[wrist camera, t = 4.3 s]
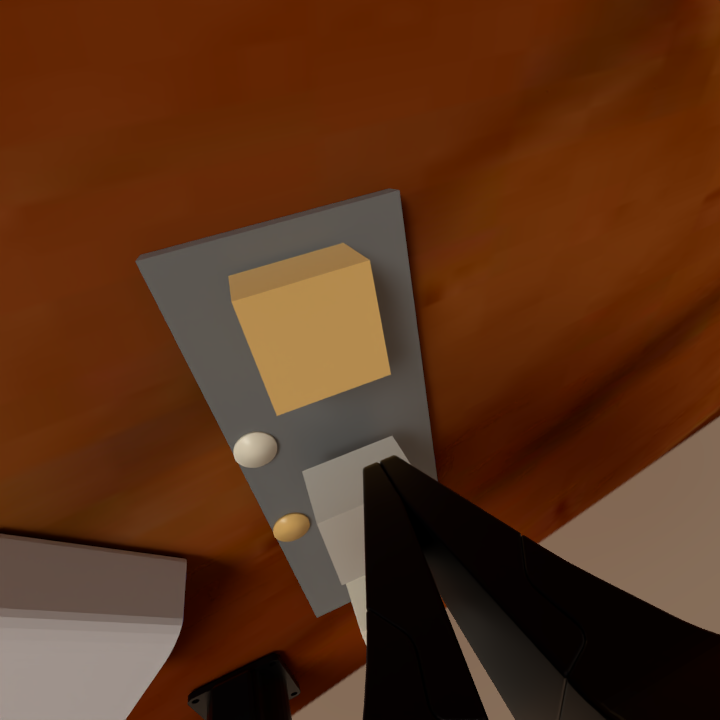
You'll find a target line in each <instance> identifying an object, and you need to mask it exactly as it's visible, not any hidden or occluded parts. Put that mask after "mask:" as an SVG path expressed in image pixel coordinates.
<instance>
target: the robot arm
mask: <svg viewBox="0 0 720 720" xmlns="http://www.w3.org/2000/svg"><path fill="white" fill-rule="evenodd" d="M363 504H364V543H365V581H366V609H367V612H366V629H367V656H366V682H365V698H364V711H363V720H488V717H487V714H486V712H485V709H484V707H483V704H482V702H481V699H480V697H479V694H478V691H477V689H476V686H475V684H474V681H473V679H472V677H471V674H470V671H469V668H468V666H467V663H466V661H465V658H464V656H463V653H462V650H461V648H460V645H459V643H458V640H457V638H456V635H455V633H454V630H453V628H452V625H451V622H450V620H449V617H448V615H447V612H446V610H445V607H444V604H443V602H442V599H443V600H444V602H445V604H446V605H447V607H448V609H449V610H450V612H451V614H452V615H453V617H454V619H455V620H456V622H457V624H458V625H459V627H460V629H461V630H462V632H463V634H464V635H465V637H466V638H467V640H468V642H469V643H470V645H471V647H472V648H473V650H474V652H475V653H476V655H477V657H478V658H479V660H480V662H481V664H482V665H483V667H484V669H485V670H486V672H487V674H488V675H489V677H490V679H491V680H492V682H493V683H494V685H495V687H496V688H497V690H498V692H499V693H500V695H501V697H502V698H503V700H504V702H505V703H506V705H507V707H508V708H509V710H510V711H511V713H512V715H513V717H514V718H515V720H720V634H716V633H714V632H711V631H708V630H705V629H702V628H699V627H697V626H695V625H692V624H690V623H688V622H685V621H683V620H681V619H679V618H677V617H675V616H673V615H671V614H669V613H667V612H665V611H663V610H661V609H659V608H657V607H655V606H653V605H651V604H649V603H647V602H645V601H643V600H641V599H639V598H637V597H635V596H633V595H631V594H629V593H627V592H625V591H623V590H621V589H619V588H617V587H615V586H613V585H611V584H609V583H607V582H605V581H603V580H601V579H599V578H598V577H595V576H594V575H592V574H590V573H588V572H586V571H584V570H582V569H580V568H579V567H577V566H574V565H573V564H571V563H569V562H567V561H566V560H564V559H562V558H560V557H559V556H557V555H555V554H554V553H552V552H550V551H549V550H547V549H545V548H543V547H542V546H540V545H539V544H537V543H535V542H534V541H532V540H531V539H529V538H528V537H526V536H524V535H522V536H521V534H520V533H519V532H518V531H516V530H515V529H513V528H511V527H510V526H508V525H507V524H505V523H503V522H502V521H500V520H499V519H497V518H495V517H494V516H492V515H491V514H489V513H487V512H486V511H484V510H483V509H481V508H479V507H478V506H476V505H475V504H473V503H471V502H470V501H468V500H467V499H465V498H463V497H462V496H460V495H459V494H457V493H455V492H454V491H452V490H451V489H449V488H447V487H446V486H444V485H443V484H441V483H439V482H438V481H436V480H435V479H433V478H431V477H430V476H428V475H427V474H425V473H423V472H422V471H420V470H419V469H417V468H415V467H414V466H412V465H411V464H409V463H407V462H406V461H404V460H403V459H401V458H399V457H398V456H396V455H392V456H390V457H388V458H385V459H383V460H381V461H380V463H378V462H375V463H373V464H371V465H368V466H366V467H364V468H363ZM440 595H441V597H442V599H441V597H440ZM299 694H300V687H299V684H298V683H297V681H296V680H295V678H294V677H293V675H292V674H291V672H290V671H289V669H288V668H287V667H286V665H285V664H284V662H283V661H282V659H281V658H280V656H279V655H278V654H271V655H269V656H267V657H265V658H263V659H260V660H258V661H256V662H254V663H252V664H250V665H248V666H246V667H244V668H242V669H240V670H238V671H235V672H233V673H231V674H229V675H227V676H225V677H223V678H221V679H219V680H217V681H215V682H212V683H210V684H208V685H206V686H204V687H202V688H200V689H198V690H196V691H194V692H192V693H190V694H189V695H188V705H189V706H190V707H191V708H192V709H193V710H194V711H196V712H197V713H198V714H199V715H200V716H201V717H202V718H203V719H205V720H292V718H291V711H290V704H289V700H290V699H292V698H294V697H296V696H297V695H299Z"/></svg>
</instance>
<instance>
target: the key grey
mask: <svg viewBox="0 0 720 720" xmlns="http://www.w3.org/2000/svg"><path fill="white" fill-rule="evenodd" d="M392 455H396V456H398V457H399V458H401V459H403V460H404V461H406V462H407V463H409V464H410V462H409V461H408V459H407V458H406V456H405V455H404V453H403V452H402V450H401V448H400V447H399V445H398V444H397V442H396V441H395V439H394V438H393V436H390V437H387V438H385V439H382V440H380V441H377V442H375V443H372V444H370V445H367V446H365V447H362V448H360V449H357V450H355V451H352V452H350V453H347V454H345V455H342V456H339V457H337V458H334V459H332V460H329V461H327V462H324V463H322V464H319V465H317V466H314V467H312V468H309V469H307V470H304V471H302V473H303V476H304V480H305V483H306V487H307V491H308V494H309V498H310V501H311V505H312V508H313V512H314V515H315V519H316V522H317V525H318V528H319V530H320V533H321V535H322V538H323V540H324V543H325V545H326V548H327V550H328V553H329V555H330V557H331V560H332V562H333V565H334V567H335V570H336V572H337V575H338V577H339V580H340V582H341V585H344V584H346V583H349V582H351V581H353V580H355V579H357V578H359V577H362V576H364V575H365V543H364V504H363V468H364V467H366V466H368V465H371V464H373V463H375V462H378V463H380V461H381V460H383V459H385V458H388V457H390V456H392Z"/></svg>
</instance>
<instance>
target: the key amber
mask: <svg viewBox="0 0 720 720" xmlns="http://www.w3.org/2000/svg"><path fill="white" fill-rule="evenodd" d="M228 278H229V286H230V295H231V302H232V305H233V307H234V310H235V312H236V315H237V317H238V320H239V322H240V325H241V327H242V330H243V332H244V335H245V337H246V340H247V342H248V345H249V347H250V350H251V352H252V355H253V357H254V360H255V362H256V365H257V367H258V370H259V372H260V375H261V377H262V380H263V382H264V385H265V387H266V390H267V392H268V395H269V397H270V400H271V402H272V405H273V407H274V410H275V412H276V415H277V416H278V415H281V414H284V413H286V412H289V411H292V410H295V409H297V408H300V407H303V406H306V405H308V404H311V403H314V402H317V401H319V400H322V399H325V398H328V397H330V396H333V395H336V394H339V393H341V392H344V391H347V390H350V389H352V388H355V387H358V386H361V385H363V384H366V383H369V382H372V381H374V380H377V379H380V378H383V377H385V376H388V375H391V372H390V366H389V361H388V356H387V350H386V345H385V339H384V334H383V329H382V323H381V318H380V312H379V307H378V302H377V296H376V291H375V285H374V280H373V274H372V269H371V264H370V260H369V259H367V258H366V257H364V256H363V255H361V254H360V253H358V252H357V251H355V250H354V249H352V248H351V247H349V246H348V245H346V244H345V243H341V244H337V245H334V246H330V247H327V248H323V249H320V250H316V251H313V252H310V253H306V254H303V255H299V256H296V257H292V258H289V259H285V260H282V261H278V262H275V263H271V264H268V265H264V266H261V267H258V268H254V269H251V270H247V271H244V272H240V273H237V274H233V275H230V276H228Z"/></svg>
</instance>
